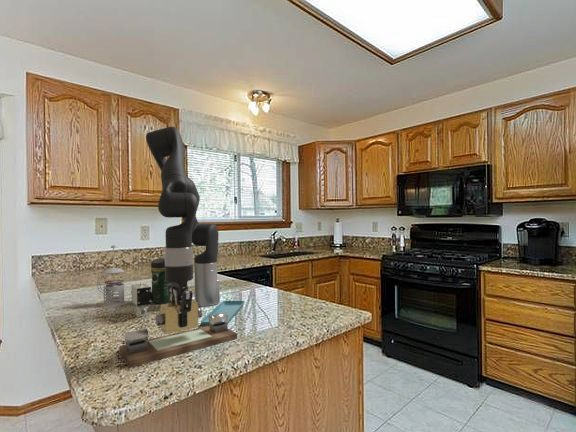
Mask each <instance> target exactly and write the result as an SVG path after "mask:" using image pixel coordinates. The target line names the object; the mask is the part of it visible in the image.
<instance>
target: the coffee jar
mask: <svg viewBox="0 0 576 432" xmlns="http://www.w3.org/2000/svg"><path fill="white" fill-rule="evenodd" d="M150 271H151V292H153V301H151V303H156V304H167V303H169V295H168V285H171V284H172V282H167V281H166V280H165V258H156V259H153V260H152V261H151V264H150Z"/></svg>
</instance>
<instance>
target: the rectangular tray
mask: <svg viewBox="0 0 576 432" xmlns="http://www.w3.org/2000/svg"><path fill="white" fill-rule="evenodd" d="M244 305H245V300H223V301H221V303H218V305H217V306H216V307H215V308H214V309H213V310H211V311H210V312H209V313H208V314H207V315H205V317H204V318H203V319H201V321H200V323H201V325H202V327H206V326H210V324H209V316H210V315H214V314H219V313H224V312H226V313H227V314H228V322H225V323H227V324H228V325H229V323H230V322H231V321H232V320H233V319H234V317H236V315H237V314H238V313H239V312H240V311H241V309H242V308H243V306H244Z"/></svg>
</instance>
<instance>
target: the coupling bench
mask: <svg viewBox="0 0 576 432" xmlns="http://www.w3.org/2000/svg"><path fill="white" fill-rule="evenodd" d="M225 322H228V314H227V313H226V312H224V313H219V314H214V315H210V316H209V324H210V326H202V327H197V328H192V329H188V330H183V331H179V332H174V333H169V334H165V335H163V336H158V337H154V338H153V337H152V338H149V332H148V328H142V329H137V330H133V331H132V330H131V331H127V332H125V333H124V343H125V344H123V345H119V346H118V352H119V353H120V355H121V357H122V359H123V360H124V362H125V363H126V364H127V366H128V368H132V367H135V366H140V365H143V364H146V363H150V362H155V361H159V360H161V359H165V358H169V357H173V356H177V355H180V354H184V353H188V352H192V351H195V350H200V349H203V348H207V347H211V346H215V345H219V344H222V343H227V342H230V341H234V340H237V339H238V333H237V332H236V331H234V330H231V329H230V328H228V326H229V323H228V324H227V323H225Z"/></svg>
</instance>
